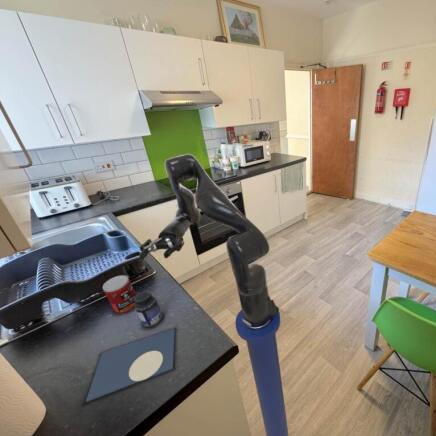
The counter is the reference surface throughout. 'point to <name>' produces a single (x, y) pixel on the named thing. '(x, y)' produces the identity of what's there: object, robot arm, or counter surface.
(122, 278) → the canned food
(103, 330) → the counter surface
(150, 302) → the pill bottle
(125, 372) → the placemat
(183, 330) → the counter surface
